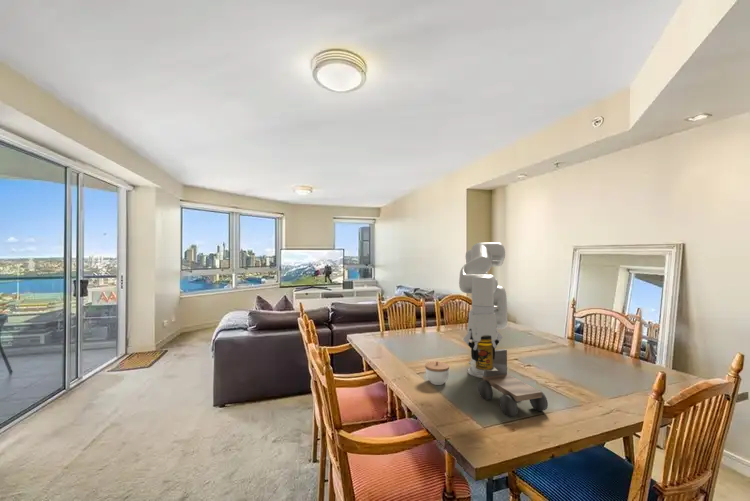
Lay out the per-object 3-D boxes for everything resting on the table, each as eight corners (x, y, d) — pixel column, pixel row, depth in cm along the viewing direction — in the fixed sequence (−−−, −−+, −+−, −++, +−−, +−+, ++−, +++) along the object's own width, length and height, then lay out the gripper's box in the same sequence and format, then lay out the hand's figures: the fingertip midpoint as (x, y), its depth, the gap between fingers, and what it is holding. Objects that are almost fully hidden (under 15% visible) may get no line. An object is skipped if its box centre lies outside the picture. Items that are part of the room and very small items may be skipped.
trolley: (478, 395, 136) (477, 351, 136) (509, 390, 140) (508, 348, 140) (512, 420, 116) (512, 368, 116) (547, 414, 120) (547, 364, 120)
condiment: (477, 371, 118) (476, 337, 118) (471, 363, 126) (470, 331, 126) (498, 371, 118) (497, 337, 118) (490, 363, 126) (490, 331, 126)
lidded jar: (431, 388, 144) (431, 366, 144) (421, 379, 154) (421, 359, 154) (453, 385, 147) (453, 364, 147) (442, 376, 157) (442, 356, 157)
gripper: (497, 307, 128) (497, 354, 128) (456, 309, 123) (456, 358, 123) (509, 310, 120) (510, 360, 120) (466, 312, 116) (467, 364, 116)
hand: (483, 358), depth 122 cm, fingers closed on condiment, 6 cm apart
